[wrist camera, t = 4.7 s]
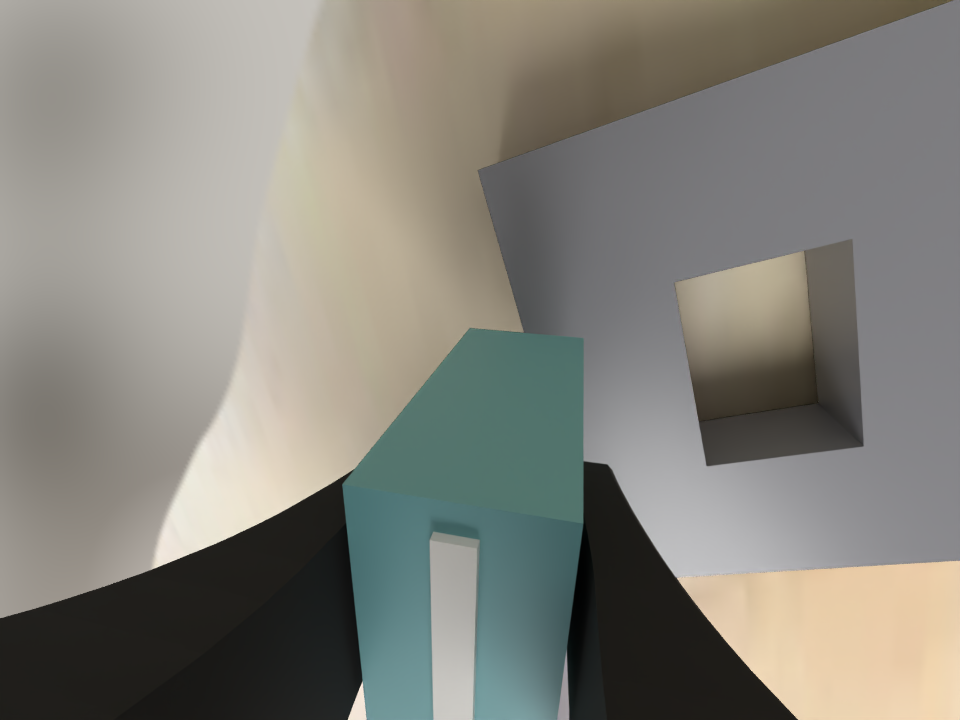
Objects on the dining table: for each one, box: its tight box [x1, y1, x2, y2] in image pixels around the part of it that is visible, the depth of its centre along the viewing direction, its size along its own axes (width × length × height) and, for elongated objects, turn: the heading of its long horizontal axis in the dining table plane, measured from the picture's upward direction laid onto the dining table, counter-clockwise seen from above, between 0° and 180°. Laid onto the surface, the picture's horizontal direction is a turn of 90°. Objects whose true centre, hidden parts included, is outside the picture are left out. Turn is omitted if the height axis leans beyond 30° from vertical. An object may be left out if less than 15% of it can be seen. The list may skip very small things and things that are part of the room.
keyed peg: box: [342, 328, 584, 720], centre depth 9 cm, size 5×3×7 cm, turn 179°
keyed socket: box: [478, 0, 960, 578], centre depth 15 cm, size 16×14×3 cm
